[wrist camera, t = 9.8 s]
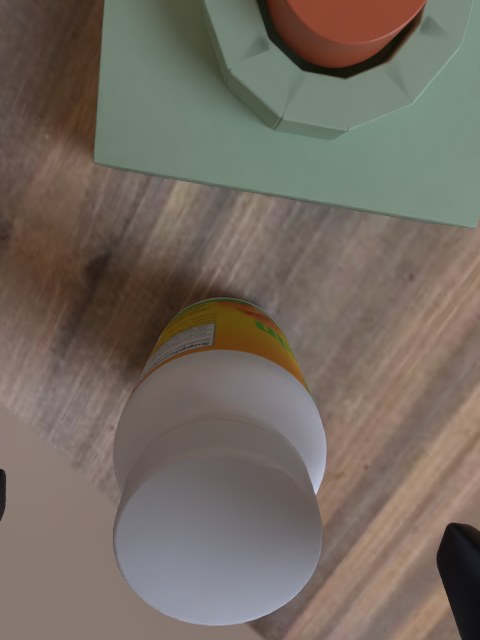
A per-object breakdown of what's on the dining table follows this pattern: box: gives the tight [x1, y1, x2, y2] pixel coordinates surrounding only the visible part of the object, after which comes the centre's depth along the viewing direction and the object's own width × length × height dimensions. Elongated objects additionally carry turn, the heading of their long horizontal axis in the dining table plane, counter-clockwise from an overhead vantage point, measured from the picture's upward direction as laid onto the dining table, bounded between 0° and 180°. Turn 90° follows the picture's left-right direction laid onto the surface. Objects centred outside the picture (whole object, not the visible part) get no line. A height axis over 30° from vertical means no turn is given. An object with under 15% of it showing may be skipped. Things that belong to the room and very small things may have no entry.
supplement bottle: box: [113, 297, 326, 626], centre depth 13 cm, size 5×5×10 cm
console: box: [93, 0, 480, 228], centre depth 12 cm, size 10×12×4 cm
